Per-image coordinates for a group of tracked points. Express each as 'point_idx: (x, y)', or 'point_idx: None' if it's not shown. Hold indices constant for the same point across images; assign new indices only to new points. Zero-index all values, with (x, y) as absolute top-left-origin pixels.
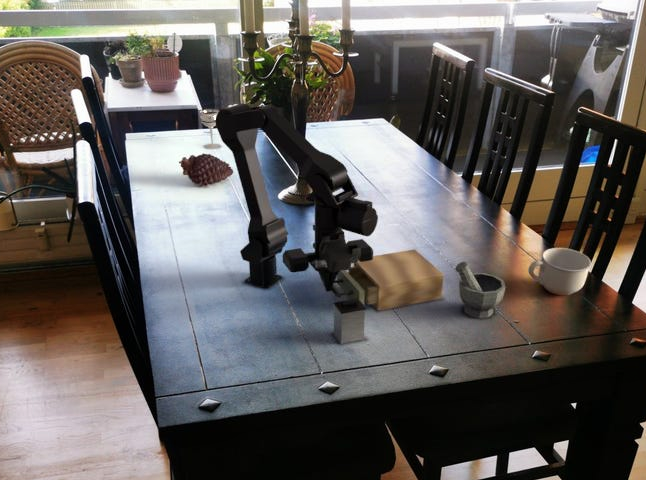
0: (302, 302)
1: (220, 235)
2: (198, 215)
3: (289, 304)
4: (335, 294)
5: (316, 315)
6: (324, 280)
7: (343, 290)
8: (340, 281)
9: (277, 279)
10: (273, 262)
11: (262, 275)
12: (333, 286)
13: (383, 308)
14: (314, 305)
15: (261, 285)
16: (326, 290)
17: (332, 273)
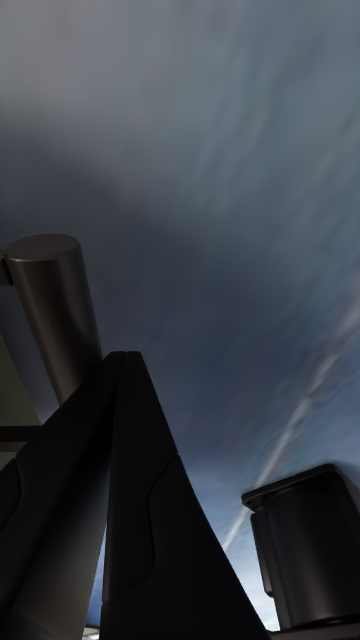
0: (265, 350)
1: (267, 597)
2: (263, 621)
3: (335, 352)
4: (79, 274)
5: (276, 177)
6: (173, 457)
7: (14, 375)
8: (6, 433)
9: (268, 492)
10: (313, 589)
11: (356, 525)
12: (71, 385)
13: None
14: (222, 306)
15: (344, 478)
16: (144, 362)
17: (17, 579)
